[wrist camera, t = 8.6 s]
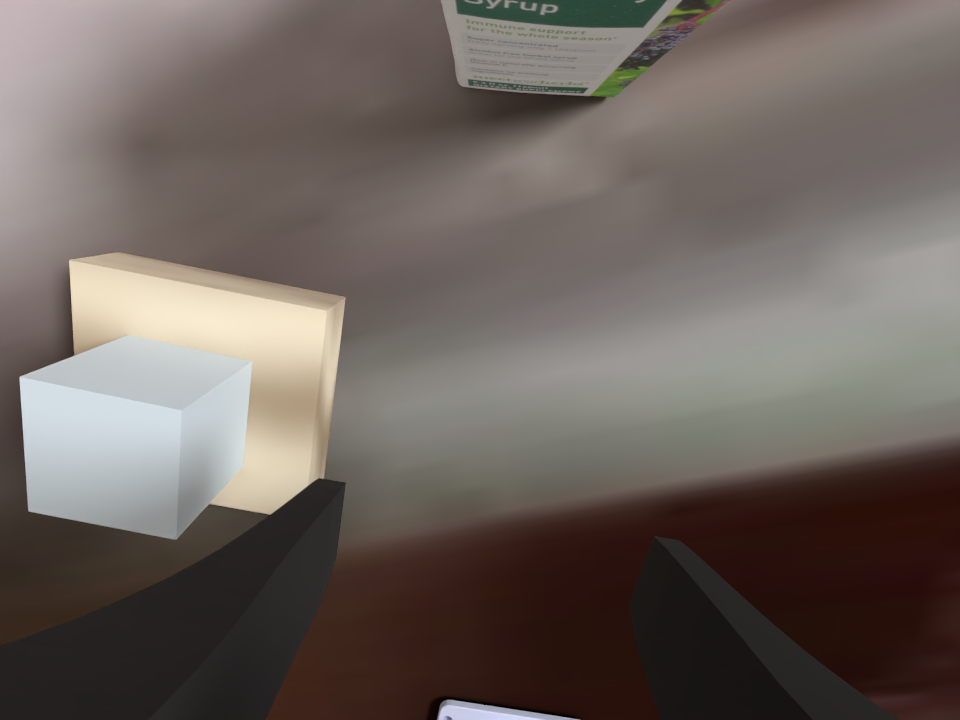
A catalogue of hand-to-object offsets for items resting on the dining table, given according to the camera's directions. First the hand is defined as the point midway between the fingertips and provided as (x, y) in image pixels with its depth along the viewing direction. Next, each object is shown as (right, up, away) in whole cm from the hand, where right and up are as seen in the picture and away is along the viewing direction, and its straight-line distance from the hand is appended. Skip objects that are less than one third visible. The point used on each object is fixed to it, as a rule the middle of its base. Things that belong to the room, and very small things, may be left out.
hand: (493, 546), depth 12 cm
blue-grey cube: (-11, +3, +8) cm, 14 cm away
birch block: (-11, +4, +10) cm, 16 cm away
